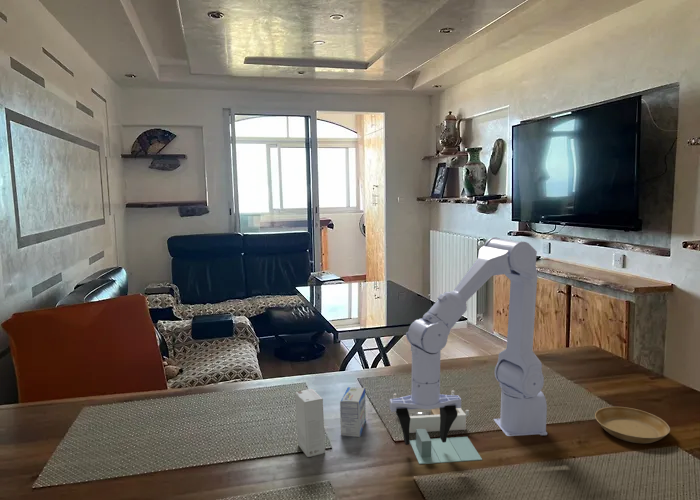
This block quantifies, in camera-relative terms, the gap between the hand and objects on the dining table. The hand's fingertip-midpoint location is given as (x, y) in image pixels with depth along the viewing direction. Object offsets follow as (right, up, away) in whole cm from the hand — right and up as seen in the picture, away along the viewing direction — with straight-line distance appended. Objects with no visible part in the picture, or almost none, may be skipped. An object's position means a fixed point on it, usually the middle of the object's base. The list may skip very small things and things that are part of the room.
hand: (424, 441), depth 104 cm
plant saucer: (+48, -2, +9) cm, 49 cm away
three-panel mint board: (+4, -3, +1) cm, 5 cm away
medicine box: (-15, -2, +11) cm, 18 cm away
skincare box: (-24, -3, +3) cm, 24 cm away
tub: (+3, -1, +14) cm, 14 cm away
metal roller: (+1, +1, +14) cm, 14 cm away
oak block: (+6, 0, +13) cm, 14 cm away
